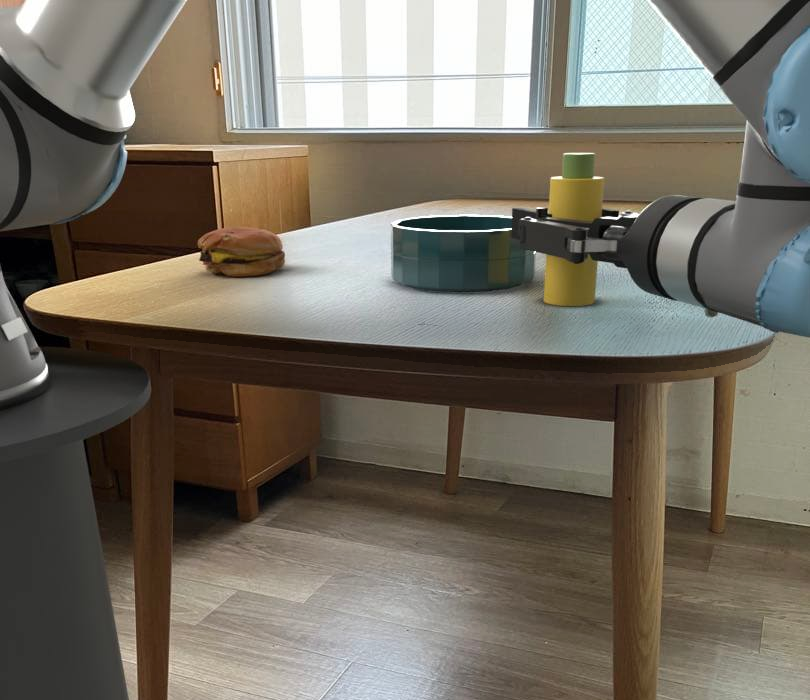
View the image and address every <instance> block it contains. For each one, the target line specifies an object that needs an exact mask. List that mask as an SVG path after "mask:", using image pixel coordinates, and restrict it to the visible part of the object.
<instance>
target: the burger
mask: <svg viewBox="0 0 810 700" xmlns="http://www.w3.org/2000/svg"><path fill="white" fill-rule="evenodd" d="M283 245H284V244H283V241H282V240H281V237H279V236H278V235H277V234H275V233H273V232H272V231H269V230H266V229H262V228H256V227H240V226H238V227H237V226H236V227H235V226H232V227H231V226H230V227H223V228H217V229H215V230H212V231H210V232H207V233H205V234H204V235H202V236H201V237H200V238H199V239H198V241H197V243H196V247H197V248H198V249H200V250H202V251H200V252H199V253H200V256H199V259H198V261H199V262H202V265H203V266H205V271H208V272H211V273H212V274H220V273H223V274H224V275H225V276H228V277H232V278H233V277H236V278H242V277H255V276H257V277H258V276H263V275H267V274H269V273H272V272H274V271H275V270H279V269H281V268H283V266H284V265H285V263H286V259H285V256H286V253H285V251H284V250H283V248H284V246H283Z"/></svg>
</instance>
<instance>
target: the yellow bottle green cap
mask: <svg viewBox="0 0 810 700" xmlns="http://www.w3.org/2000/svg"><path fill="white" fill-rule="evenodd" d="M595 159H596V154H595V152H565V153H563V155H562V167H561V169H562V170H561V176H560V175H559V176H551V177H550V183H549V199H548V201H549V202H548V213H549V214H552V217H554V218H563V219H573V220H583V221H593V220H594V219H595V218H599V217H601V216H602V208H603V201H604V189H605V177H603V176H594V175H595V173H594V172H595ZM598 264H599V261H594V260H592V259H591V257H590V255H589V254H588V256H587V259H586V260H585V261H584V262H582V263H580V264H574V262H569V261H568V260H566V259H564V258H560V257H556V256H551V255H547V254H545V270H544V287H543V302H544V303H545V304H549V305H551V306H559V307H584V306H590V305H593V304H594V303H595V298H596V286H597V274H598Z"/></svg>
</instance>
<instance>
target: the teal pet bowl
mask: <svg viewBox="0 0 810 700" xmlns="http://www.w3.org/2000/svg"><path fill="white" fill-rule="evenodd" d="M511 228H512V216H504V215H487V214H486V215H485V214H483V215H480V214H479V215H478V214H459V215H457V214H456V215H452V214H451V215H450V214H449V215H429V216H418V217H417V216H416V217H408V218H401V219H397V220H395V221H392V222H391V223H390V271H391V273H390V274H391V278H392V280H393V281H394V282H396V283H399V284H402V285H404V286H405V287H407V288H411V289H415V290H420V291H427V292H438V293H453V294H454V293H455V294H456V293H460V294H461V293H463V294H465V293H467V294H468V293H489V292H490V293H491V292H499V291H506V290H510V289H514V288H518V287H520V286H523V285H525V284H527V283H529V282H533V281H534V279H535V276H536V260H537V259H536V258H537V252H534V251H530V250H524V249H521V248H520V240H517V239H514V238H511Z"/></svg>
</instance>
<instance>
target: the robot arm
mask: <svg viewBox="0 0 810 700" xmlns="http://www.w3.org/2000/svg"><path fill="white" fill-rule="evenodd" d="M187 1H188V0H24V1H23V3H22V4H21V5H19V6H18V5H17V6H3V7H2V6H1V7H0V232H6V231H12V230H13V231H14V230H19V229H26V228H32V227H39V226H45V225H59V224H64V223H67V222H70V221H74V220H77V219H79V218H81V217H82V216H84V215H86V214H89V213H92V212H93V211H95V210H97V209H99V208H100V207H101V206H102V205H104V204H105V203H106V202H107V201H108V200H109V199H110V198H111V197H112V196H113V194H114V193H115V192H116V190H117V188H118V187H119V185H120V183H121V180H122V178H123V175H124V174H125V170H126V165H127V159H128V151H127V150H126V149H125V140H126V139H127V134H128V132H129V131H130V130H131V127H132V126H133V124H134V122H135V120H136V119H135V118H136V112H135V108H134V105H133V100H132V96H131V91H130V89H131V88H132V86H133V85H134V83H135V81H136V80H137V78H138V77H139V75H140V74H141V72H142V70H143V69H144V68H145V66H146V64H147V63H148V61H149V60H150V58H151V57H152V55H153V53H154V52H155V51H156V49H157V48H158V46H159V44H160V43H161V41H162V40H163V38H164V36H166V34H167V32H168V30H169V29H170V27H171V26H172V24H173V23H174V21H175V20H176V18H177V16H178V15H179V14H180V12H181V10H182V9H183V8H184V6H185V5H186V3H187ZM646 1H647V2H648V3H649V4H650V5H651V7H652V8H653V9H654V10H655V12H656V13H657V14H658V15H659V16H660V17H661V19H662V20H663V21H664V22H665V23H666V24H667V26H668V27H669V28H670V29H671V31H673V33H674V34H675V35H676V36H677V37H678V39H679V40H680V41H681V42H682V43H683V45H684V46H685V47H686V49H688V50H689V52H690V53H691V55H693V57H694V58H695V59H696V60H697V61H698V62H699V64H700V65H701V66H702V67H703V69H704V70H705V71H706V72H707V73H708V74H709V75H710V77H711V78H712V79H713V81H714V82H715V83H716V85H718V87H719V89H720V91H721V92H722V93H723V94H724V96H725V97H726V98H727V99H728V100H729V102H730V103H731V104H732V105H733V106H734V107H735V109H736V110H737V111H738V112H739V113H740V114H741V116H742V118H744V119H745V121H746V122H745V123H746V124H745V132H744V142H743V147H742V148H743V150H742V157H741V164H740V165H741V166H740V174H739V182H738V183H737V187H736V196H735V200H728V199H719V198H711V197H706V198H703V197H698V196H697V197H696V196H688V195H681V194H680V195H679V194H670V195H664V196H661V197H660V198H658V199H656V200H654V201H653V202H650V204H647V206H646V207H645V208H643V209H642V211H641V212H640V213H637V212H634V211H632V210H625V211H622V212H621V215H620V210H617V209H613V208H612V209H611V208H606V207H602V216H601V217H599V218H595V219H594V220H593V221H583V220H573V219H563V218H554V217H552V214H549V207H536V208H535V210H532V209H527V208H522V207H511V217H512V228H511V238H514V239H517V240H520V248H521V249H524V250H530V251H534V252H536V253H538V254H544V255H546V254H547V255H551V256H556V257H560V258H564V259H566V260H568V261H569V262H574V264H580V263H582V262H584V261H585V260H586V259H587V256H588V254H589V255H590V257H591V259H592V260H594V261H598V262H603V263H608V264H609V263H610V264H613V265H614V266H615V267H617V268H620V269H621V268H622V269H626V270H627V271H628V274H629V276H630V278H631V280H632V281H633V283H634V284H635V285H636V286H637V287H638V288H639V289H641V290H642V291H644V292H645V293H647V294H650V295H654V296H657V297H661V298H663V299H667V300H671V301H674V302H680V303H684V304H687V305H690V306H694V307H700V308H702V309H704V311H703V312H704V315H705V317H707V318H708V319H709V318H715V317H718V315H719V314H723V315H726V316H728V317H732V318H735V319H737V320H741V321H744V322H747V323H750V324H753V325H756V326H759V327H762V328H764V329H766V330H767V331H770V332H772V333H776V334H778V333H784V334H789V335H794V336H795V335H796V336H799V337H805V338H810V0H646ZM39 347H40V346H39V345H38V343H37V341H36V339H35V337H34V335H33V333H32V331H31V329H30V328H29V325H28V323H27V322H26V320H25V318H24V316H23V314H22V312H21V311H20V309H19V308H18V305H17V303H16V301H15V300H14V298H13V296H12V295H11V293H10V291H9V288H8V287H7V285H6V282H5V279H4V275H3V271H2V266H1V264H0V411H3V410H6V409H9V408H12V407H15V406H18V405H21V404H23V403H26V402H28V401H30V400H32V399H34V398H36V397H38V396H40V395H41V394H42V393H44V392H45V391H46V390H47V389H48V388H49V386H50V379H49V373H48V368H47V364H46V362H45V358H44V355H43V353H42V351H41V349H40V348H39Z"/></svg>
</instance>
